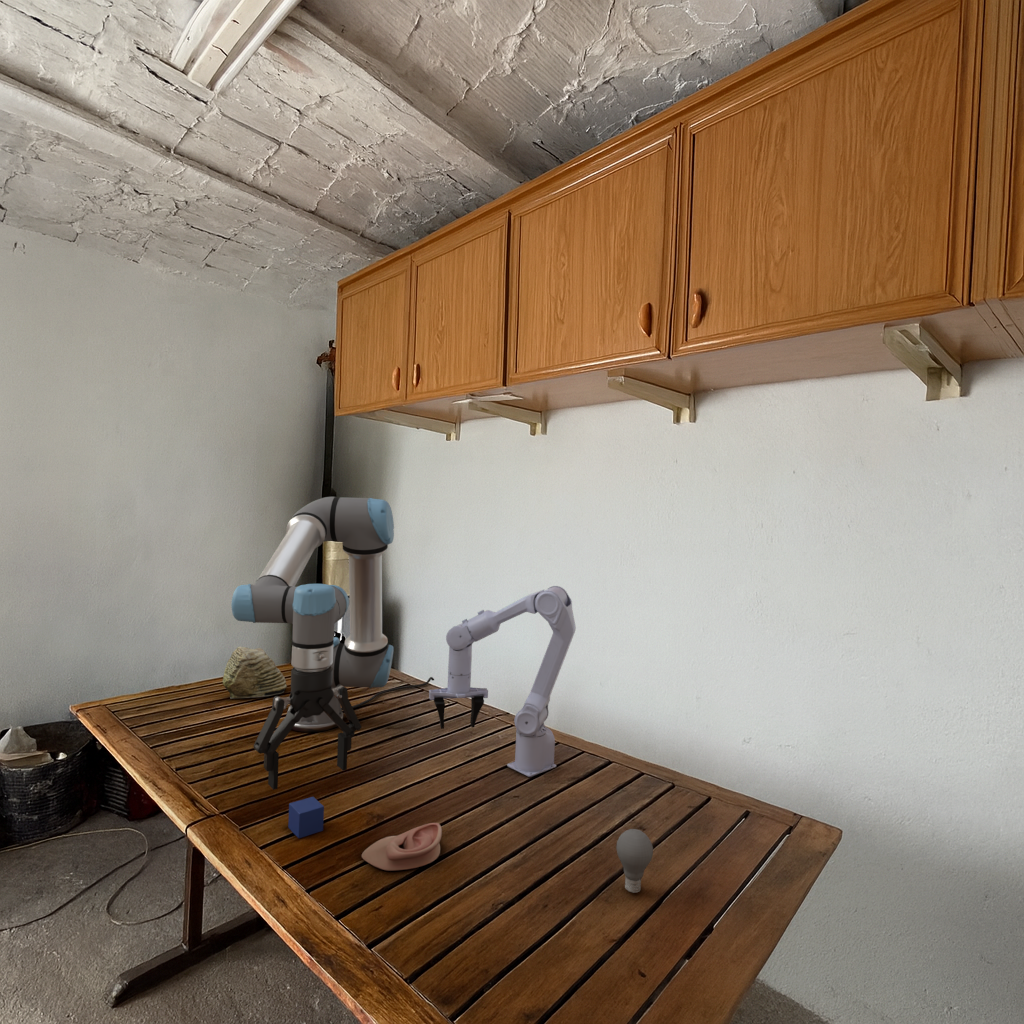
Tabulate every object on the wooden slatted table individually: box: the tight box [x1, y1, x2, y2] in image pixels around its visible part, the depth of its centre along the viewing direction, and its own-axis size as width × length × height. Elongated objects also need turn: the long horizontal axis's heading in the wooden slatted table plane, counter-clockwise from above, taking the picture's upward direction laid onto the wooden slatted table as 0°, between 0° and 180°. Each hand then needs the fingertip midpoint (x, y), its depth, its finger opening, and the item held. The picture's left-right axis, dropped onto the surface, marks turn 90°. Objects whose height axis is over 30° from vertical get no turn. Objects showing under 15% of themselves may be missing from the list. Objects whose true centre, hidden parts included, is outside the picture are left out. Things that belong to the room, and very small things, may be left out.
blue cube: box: [287, 796, 325, 839], centre depth 121 cm, size 5×5×5 cm
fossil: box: [222, 646, 288, 699], centre depth 198 cm, size 9×18×15 cm, turn 132°
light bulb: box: [615, 828, 654, 894], centre depth 106 cm, size 6×6×10 cm
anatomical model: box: [361, 822, 443, 872], centre depth 114 cm, size 13×4×12 cm
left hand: (308, 776), depth 121 cm, fingers open, 13 cm apart
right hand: (457, 726), depth 158 cm, fingers open, 7 cm apart
